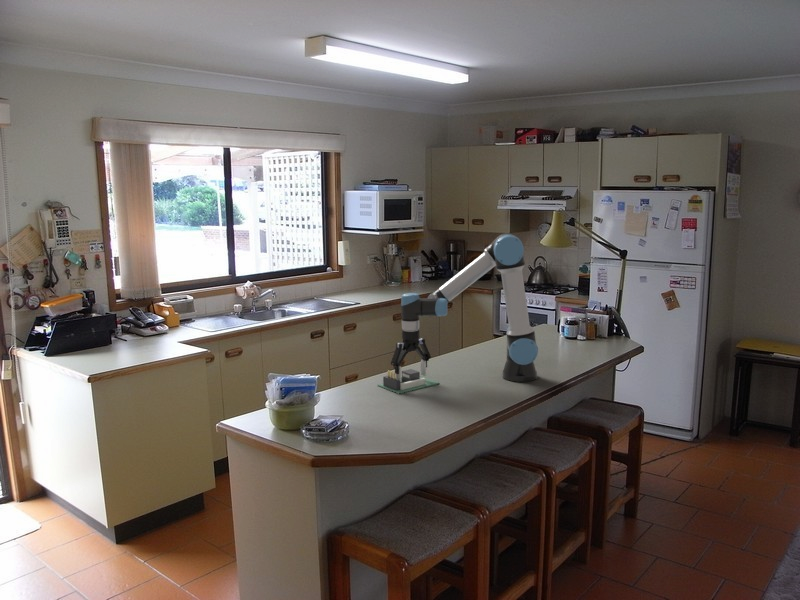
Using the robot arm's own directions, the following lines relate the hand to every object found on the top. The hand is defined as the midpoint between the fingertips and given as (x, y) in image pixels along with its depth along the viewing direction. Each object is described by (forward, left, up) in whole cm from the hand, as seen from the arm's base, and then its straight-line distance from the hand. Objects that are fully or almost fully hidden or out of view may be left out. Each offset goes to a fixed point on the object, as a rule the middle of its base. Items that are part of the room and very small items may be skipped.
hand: (411, 378), depth 288 cm
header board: (0, +2, -3) cm, 3 cm away
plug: (0, 0, -2) cm, 2 cm away
